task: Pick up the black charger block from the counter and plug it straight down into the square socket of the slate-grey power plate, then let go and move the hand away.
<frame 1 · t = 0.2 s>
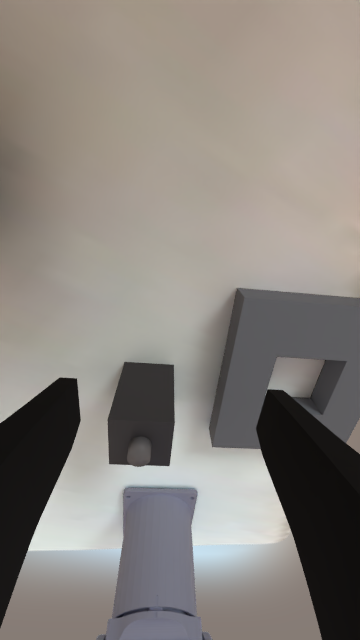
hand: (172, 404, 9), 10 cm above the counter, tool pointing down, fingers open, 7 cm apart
power plate: (290, 372, 21), on the counter
charger: (148, 382, 21), on the counter
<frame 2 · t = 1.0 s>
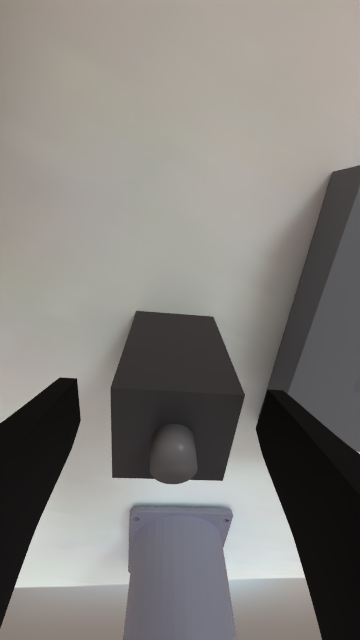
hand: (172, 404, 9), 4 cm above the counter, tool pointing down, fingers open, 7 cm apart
charger: (172, 347, 14), on the counter
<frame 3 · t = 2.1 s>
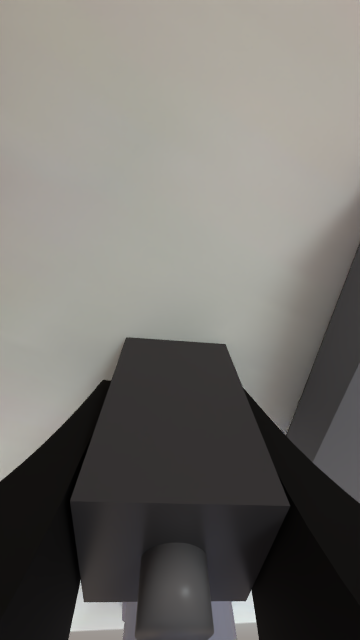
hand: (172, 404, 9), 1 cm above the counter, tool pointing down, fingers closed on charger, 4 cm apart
charger: (172, 381, 11), on the counter, touching gripper
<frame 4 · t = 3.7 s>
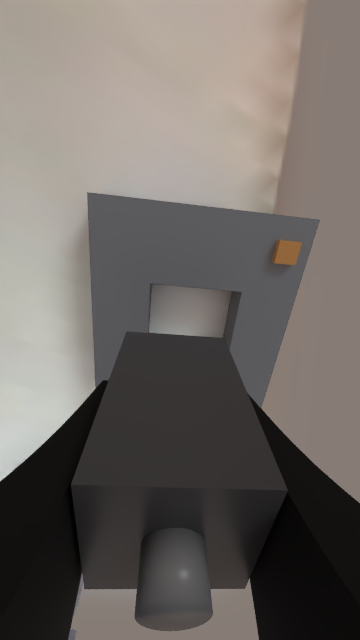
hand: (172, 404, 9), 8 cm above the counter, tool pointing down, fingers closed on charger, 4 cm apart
power plate: (188, 316, 17), on the counter
charger: (172, 375, 11), point 7 cm above the counter, touching gripper
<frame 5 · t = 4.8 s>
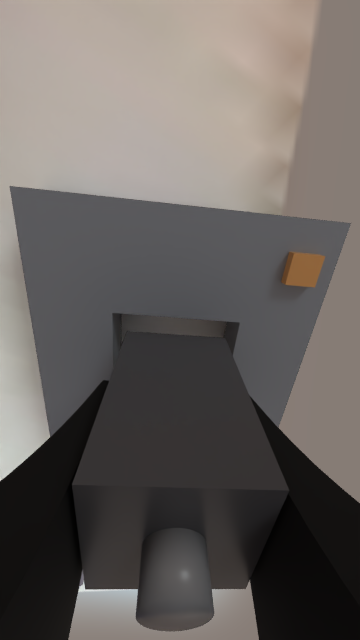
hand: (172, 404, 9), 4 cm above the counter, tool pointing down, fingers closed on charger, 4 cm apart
power plate: (171, 348, 13), on the counter
charger: (172, 375, 11), point 3 cm above the counter, touching gripper
when the fingers open (3 cm above the counter, at t = 5.6 s): charger drops 1 cm, resting in power plate.
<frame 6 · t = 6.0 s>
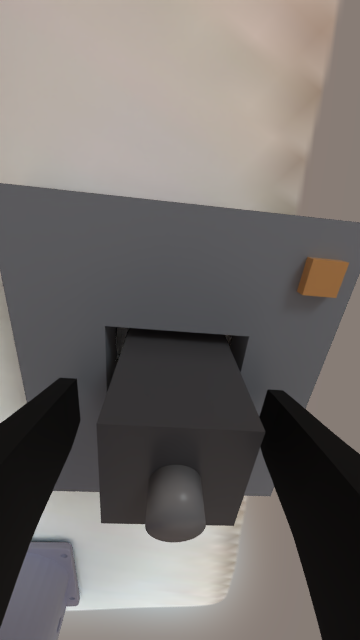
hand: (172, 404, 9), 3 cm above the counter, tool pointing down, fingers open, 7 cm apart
power plate: (172, 361, 12), on the counter
charger: (173, 358, 12), resting in power plate
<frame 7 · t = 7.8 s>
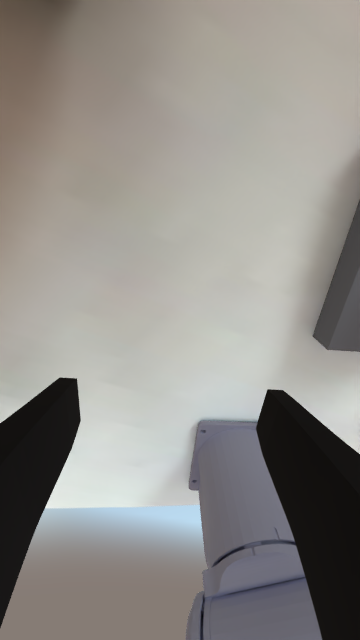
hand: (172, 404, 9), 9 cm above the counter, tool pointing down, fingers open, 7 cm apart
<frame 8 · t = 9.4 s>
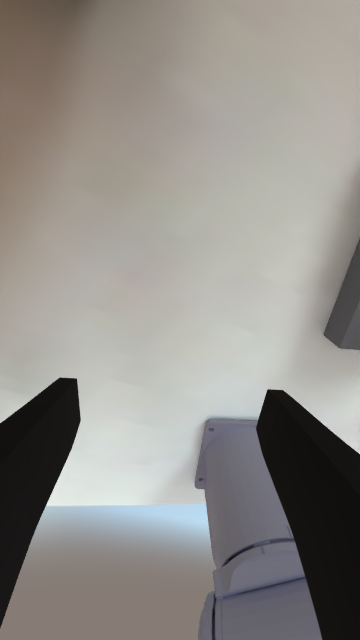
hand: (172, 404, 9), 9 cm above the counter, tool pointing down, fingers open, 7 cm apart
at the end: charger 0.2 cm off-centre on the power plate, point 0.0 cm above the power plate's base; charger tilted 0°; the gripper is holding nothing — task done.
